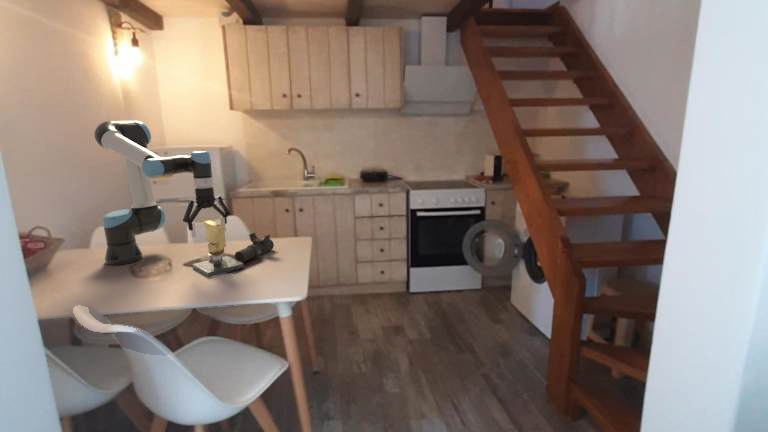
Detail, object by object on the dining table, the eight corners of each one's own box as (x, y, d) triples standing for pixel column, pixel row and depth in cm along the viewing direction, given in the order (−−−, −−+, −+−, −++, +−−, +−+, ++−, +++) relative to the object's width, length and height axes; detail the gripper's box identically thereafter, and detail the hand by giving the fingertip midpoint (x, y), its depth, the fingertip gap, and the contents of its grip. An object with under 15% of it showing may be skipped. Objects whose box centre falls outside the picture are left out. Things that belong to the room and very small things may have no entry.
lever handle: (216, 258, 176) (213, 228, 173) (202, 250, 188) (199, 222, 185) (231, 255, 181) (228, 226, 178) (217, 247, 192) (214, 219, 189)
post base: (193, 268, 186) (191, 253, 184) (227, 259, 197) (226, 245, 195) (208, 277, 175) (206, 261, 173) (243, 267, 186) (242, 252, 184)
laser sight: (231, 262, 194) (229, 241, 192) (263, 248, 214) (261, 229, 212) (248, 264, 190) (246, 244, 188) (278, 250, 211) (277, 231, 208)
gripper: (177, 191, 171) (183, 241, 176) (235, 184, 188) (239, 229, 193) (170, 189, 176) (177, 238, 181) (227, 183, 193) (231, 227, 198)
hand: (209, 233), depth 187 cm, fingers open, 13 cm apart
